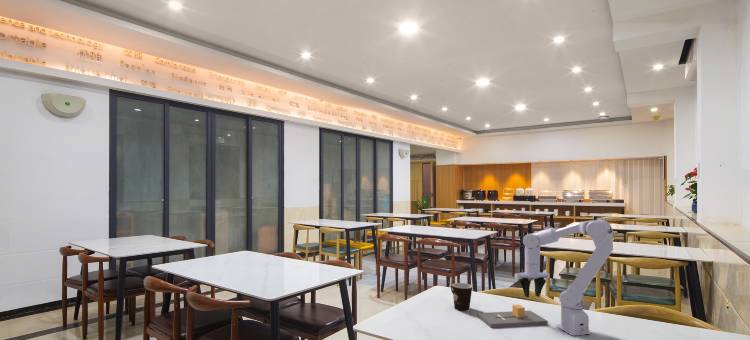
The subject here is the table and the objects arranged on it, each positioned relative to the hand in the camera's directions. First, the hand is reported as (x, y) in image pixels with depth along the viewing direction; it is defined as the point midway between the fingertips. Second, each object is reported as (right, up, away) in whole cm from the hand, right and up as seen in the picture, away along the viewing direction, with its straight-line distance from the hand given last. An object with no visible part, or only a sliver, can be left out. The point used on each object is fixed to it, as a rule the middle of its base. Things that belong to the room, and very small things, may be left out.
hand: (532, 296), depth 158 cm
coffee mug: (-26, -10, +13) cm, 31 cm away
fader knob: (-6, -8, -1) cm, 10 cm away
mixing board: (-9, -9, -2) cm, 13 cm away
